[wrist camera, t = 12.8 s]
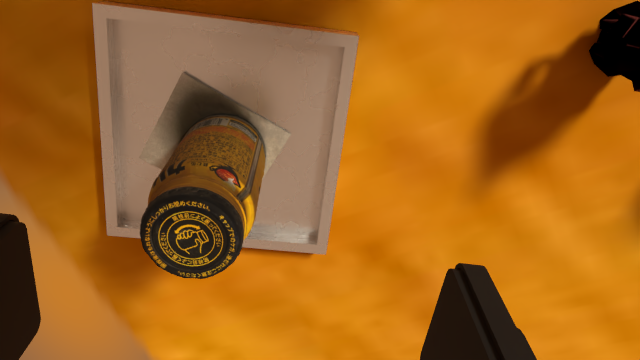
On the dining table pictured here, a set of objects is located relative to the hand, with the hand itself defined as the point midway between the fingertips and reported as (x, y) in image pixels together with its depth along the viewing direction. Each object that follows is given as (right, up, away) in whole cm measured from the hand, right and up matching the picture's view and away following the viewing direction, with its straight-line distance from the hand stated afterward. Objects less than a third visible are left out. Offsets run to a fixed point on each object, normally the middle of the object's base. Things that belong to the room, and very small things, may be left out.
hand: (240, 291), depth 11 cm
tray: (-5, +6, +25) cm, 26 cm away
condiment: (-6, +5, +24) cm, 26 cm away
